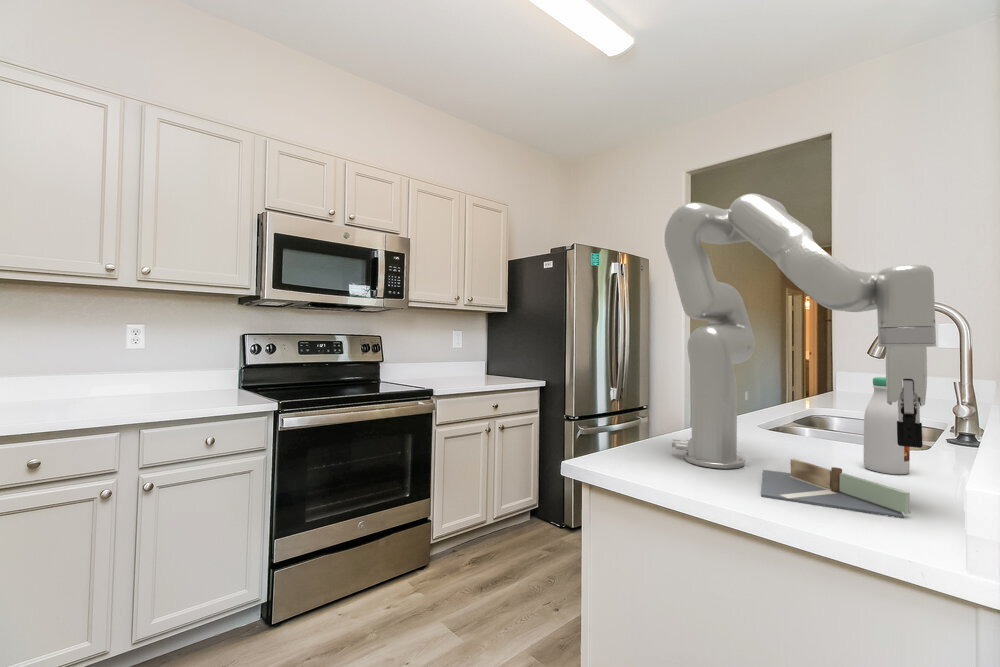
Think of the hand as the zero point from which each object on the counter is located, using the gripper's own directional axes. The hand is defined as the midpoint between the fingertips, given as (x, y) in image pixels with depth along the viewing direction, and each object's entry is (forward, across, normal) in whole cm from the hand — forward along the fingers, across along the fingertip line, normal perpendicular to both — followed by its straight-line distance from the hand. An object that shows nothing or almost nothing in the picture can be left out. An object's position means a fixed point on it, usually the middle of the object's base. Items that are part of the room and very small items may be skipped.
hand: (909, 445), depth 81 cm
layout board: (+10, 0, -12) cm, 16 cm away
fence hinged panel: (+9, +4, -5) cm, 11 cm away
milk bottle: (+10, -26, -4) cm, 28 cm away
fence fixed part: (+10, -3, -14) cm, 17 cm away
